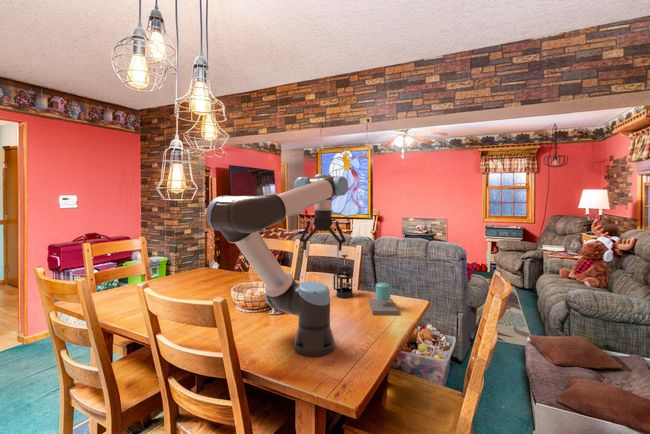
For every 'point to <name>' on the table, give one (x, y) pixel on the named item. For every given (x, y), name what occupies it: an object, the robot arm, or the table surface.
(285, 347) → the table surface
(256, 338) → the table surface
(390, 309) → the post base
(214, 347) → the table surface
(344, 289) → the french press
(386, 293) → the teal cylinder
